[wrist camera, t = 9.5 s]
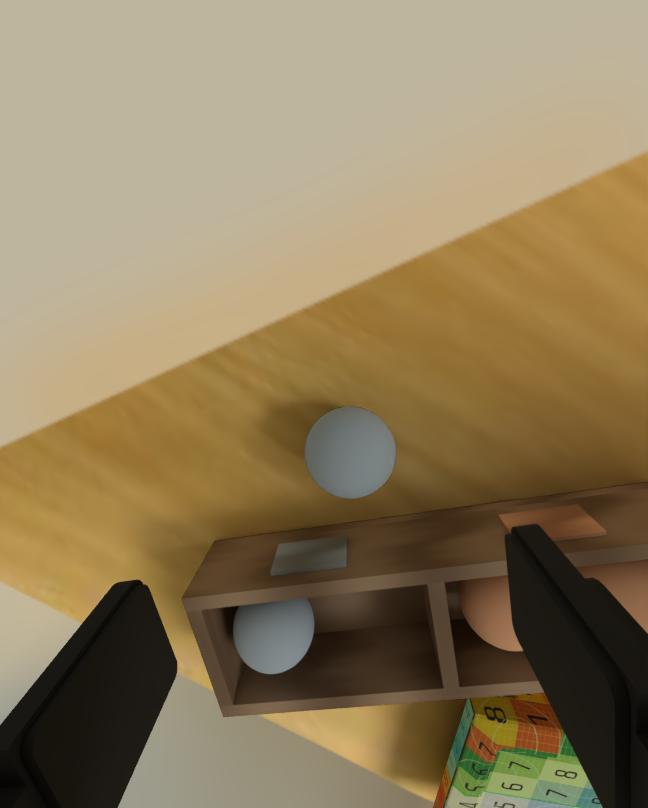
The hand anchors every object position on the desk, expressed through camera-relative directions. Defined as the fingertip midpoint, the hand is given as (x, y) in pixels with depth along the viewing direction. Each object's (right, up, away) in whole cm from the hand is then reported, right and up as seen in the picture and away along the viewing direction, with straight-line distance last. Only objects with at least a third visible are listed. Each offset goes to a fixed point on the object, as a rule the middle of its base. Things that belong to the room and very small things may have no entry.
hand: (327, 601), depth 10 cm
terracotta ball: (+10, -5, +13) cm, 17 cm away
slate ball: (+1, +3, +12) cm, 12 cm away
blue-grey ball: (-3, -7, +14) cm, 16 cm away
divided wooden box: (+6, -5, +14) cm, 16 cm away
